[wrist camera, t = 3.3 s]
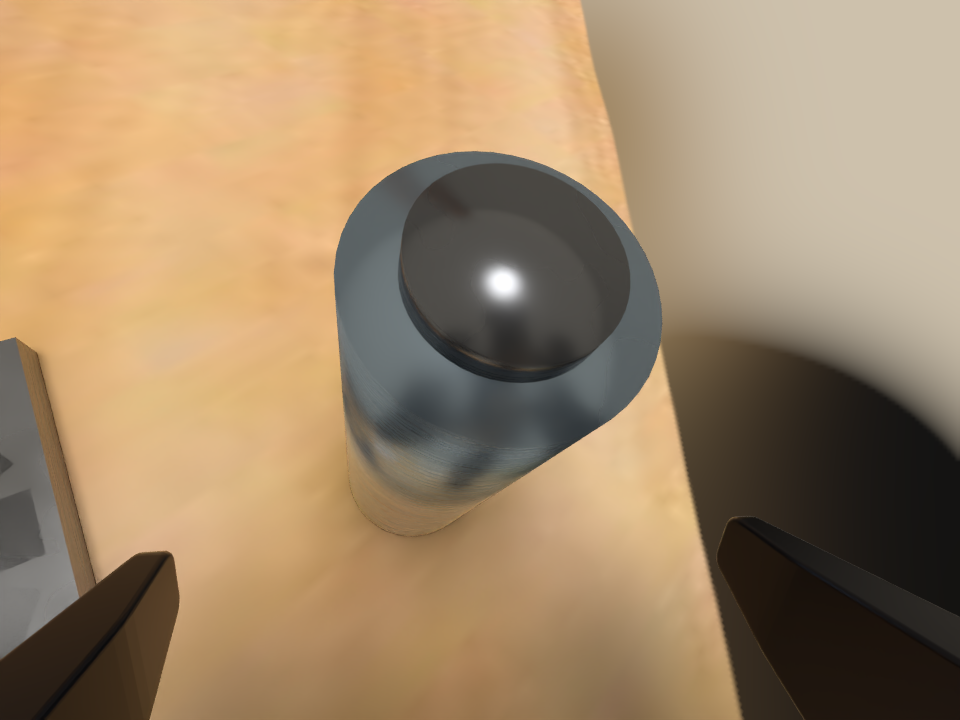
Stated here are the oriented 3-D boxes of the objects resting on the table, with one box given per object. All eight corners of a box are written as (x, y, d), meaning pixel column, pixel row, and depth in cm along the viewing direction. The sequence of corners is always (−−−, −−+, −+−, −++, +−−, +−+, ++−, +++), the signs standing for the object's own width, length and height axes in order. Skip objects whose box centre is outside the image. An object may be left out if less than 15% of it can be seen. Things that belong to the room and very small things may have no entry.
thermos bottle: (496, 500, 19) (751, 348, 7) (379, 560, 17) (435, 505, 5) (443, 391, 20) (575, 96, 8) (329, 438, 18) (274, 155, 6)
